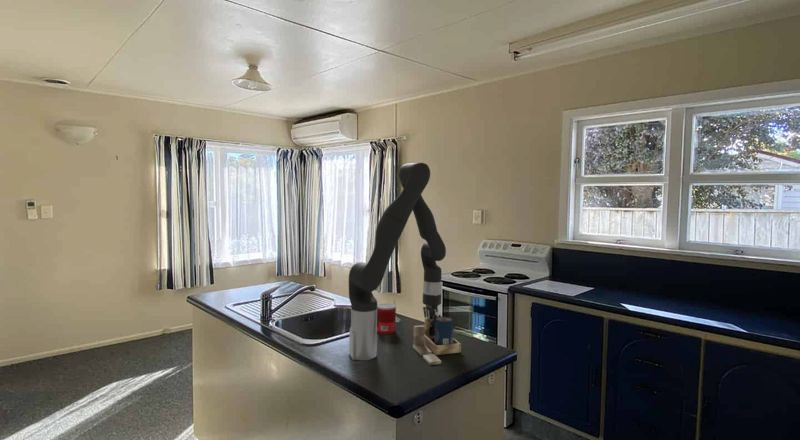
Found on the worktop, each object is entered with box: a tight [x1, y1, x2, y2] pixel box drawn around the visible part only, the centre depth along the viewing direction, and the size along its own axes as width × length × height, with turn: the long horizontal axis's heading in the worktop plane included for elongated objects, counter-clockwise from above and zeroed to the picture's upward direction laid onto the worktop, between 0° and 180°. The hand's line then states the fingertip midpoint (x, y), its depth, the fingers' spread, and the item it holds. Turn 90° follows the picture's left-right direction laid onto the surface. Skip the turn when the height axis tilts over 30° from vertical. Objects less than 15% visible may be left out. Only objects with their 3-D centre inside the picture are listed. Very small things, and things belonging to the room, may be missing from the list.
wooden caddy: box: [424, 317, 462, 356], centre depth 160 cm, size 10×17×8 cm, turn 18°
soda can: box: [434, 316, 454, 345], centre depth 155 cm, size 7×7×12 cm
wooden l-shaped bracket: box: [412, 324, 442, 366], centre depth 151 cm, size 4×17×8 cm, turn 18°
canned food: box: [377, 302, 397, 335], centre depth 175 cm, size 8×8×11 cm
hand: (431, 334), depth 167 cm, fingers closed on wooden caddy
